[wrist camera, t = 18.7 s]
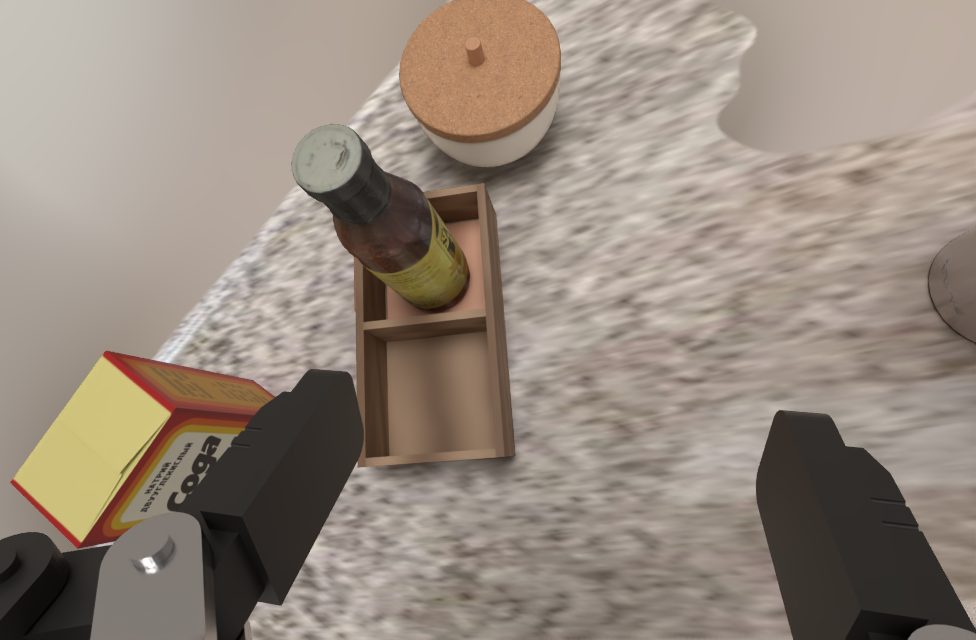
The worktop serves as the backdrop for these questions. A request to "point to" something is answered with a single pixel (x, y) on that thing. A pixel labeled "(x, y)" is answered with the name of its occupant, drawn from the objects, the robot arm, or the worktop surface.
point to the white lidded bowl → (483, 79)
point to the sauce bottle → (382, 218)
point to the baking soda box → (133, 444)
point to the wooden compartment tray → (437, 354)
